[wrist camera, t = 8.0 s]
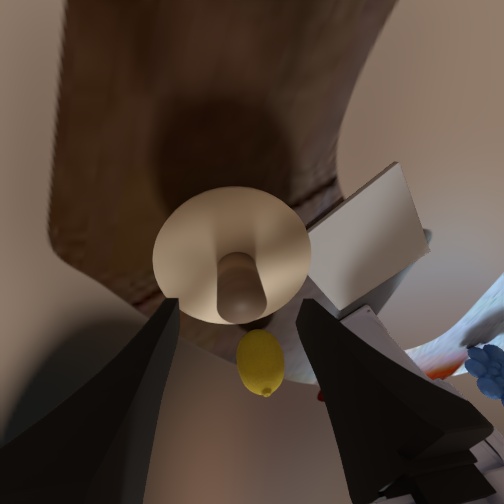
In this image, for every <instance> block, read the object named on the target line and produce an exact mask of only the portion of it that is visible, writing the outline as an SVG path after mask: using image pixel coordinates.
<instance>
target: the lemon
mask: <svg viewBox="0 0 504 504" xmlns="http://www.w3.org/2000/svg"><path fill="white" fill-rule="evenodd" d="M237 367H238V371H239V374H240V377H241V379H242V381H243V383H244V385H245V386H246V387H247V388H248V389H249V390H250V391H251V392H253V393H255V394H258V395H263V396H265V397H268V396H270V394H271V393H272V392H274V391H275V390H276V389H277V388H278V387H279V385H280V384H281V382H282V380H283V377H284V356H283V352H282V349H281V347H280V344H279V342H278V341H277V339H276V338H275V337H274V336H273V335H272V334H271V333H270V332H268V331H266V330H262V329H254V330H251V331H249V332H248V333H246V334H245V335H244V336H243V338H242V339H241V340H240V342H239V345H238V348H237Z"/></svg>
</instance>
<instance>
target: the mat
mask: <svg viewBox="0 0 504 504" xmlns="http://www.w3.org/2000/svg"><path fill="white" fill-rule="evenodd" d="M307 232H308V235H309V239H310V242H311V263H310V268H309V271H308V275H309V277H310V278H311V279H312V280H313V281H314V282H315V283H316V285H317V286H318V287H319V288H320V289H321V290H322V291H323V292H324V294H325V295H326V296H327V297H328V298H329V299H330V300H331V302H332V303H333V304H334V305H335V306H336V307H337V308H338V310H339V311H340V310H342V309H343V308H345V307H346V306H348V305H349V304H351V303H352V302H354V301H355V300H357V299H358V298H360V297H361V296H363V295H365V294H366V293H368V292H369V291H371V290H372V289H374V288H375V287H377V286H378V285H380V284H381V283H383V282H384V281H386V280H387V279H389V278H391V277H392V276H394V275H395V274H397V273H398V272H400V271H401V270H403V269H404V268H406V267H407V266H409V265H410V264H412V263H413V262H415V261H417V260H418V259H420V258H421V257H422V256H424V255H426V254H427V253H429V252H430V249H429V246H428V243H427V240H426V237H425V234H424V232H423V229H422V226H421V223H420V220H419V217H418V215H417V212H416V209H415V206H414V203H413V200H412V197H411V194H410V191H409V189H408V186H407V183H406V180H405V177H404V174H403V171H402V169H401V166H400V163H399V162H393V163H392V164H390V165H389V166H388V167H387V168H385V169H384V170H383V171H382V172H380V173H379V174H378V175H377V176H375V177H374V178H373V179H371V180H370V181H369V182H368V183H366V184H365V185H364V186H363V187H361V188H360V189H359V190H357V191H356V192H355V193H354V194H352V195H351V196H350V197H349V198H347V199H346V200H345V201H343V202H342V203H341V204H340V205H338V206H337V207H336V208H335V209H333V210H332V211H331V212H329V213H328V214H327V215H326V216H324V217H323V218H322V219H321V220H319V221H318V222H317V223H316V224H314V225H313V226H312V227H310V228H309V229H308V230H307Z"/></svg>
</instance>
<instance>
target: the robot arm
mask: <svg viewBox="0 0 504 504" xmlns="http://www.w3.org/2000/svg"><path fill="white" fill-rule="evenodd" d="M296 327H297V330H298V334H299V337H300V340H301V343H302V345H303V347H304V350H305V352H306V354H307V357H308V359H309V361H310V364H311V366H312V368H313V371H314V373H315V375H316V378H317V380H318V383H319V386H320V389H321V392H322V395H323V398H324V401H325V404H326V407H327V410H328V414H329V417H330V420H331V423H332V427H333V431H334V434H335V438H336V442H337V445H338V449H339V452H340V457H341V460H342V465H343V469H344V473H345V477H346V481H347V485H348V490H349V495H350V498H351V500H352V503H353V504H504V437H503V436H502V435H501V434H500V432H499V431H498V430H496V428H495V427H494V426H493V425H492V424H491V423H490V422H489V421H488V420H487V419H486V418H485V417H484V416H483V415H482V414H481V413H480V412H479V411H478V410H477V409H476V408H475V407H474V406H473V405H472V404H471V403H470V402H469V401H468V400H467V399H466V398H465V397H464V396H463V395H462V394H461V393H460V392H459V391H458V390H457V389H456V388H455V387H454V386H453V385H452V384H451V383H449V382H447V381H444V380H441V379H439V378H438V379H435V380H434V381H432V380H431V379H430V378H429V377H427V376H426V375H425V373H424V372H423V371H422V370H421V369H420V368H419V367H418V366H417V365H416V364H415V362H414V361H413V360H412V359H411V358H410V357H409V356H408V355H407V354H406V353H405V351H404V350H403V349H402V348H401V347H400V346H399V345H398V344H397V343H396V342H395V341H394V339H393V338H392V337H391V336H390V335H389V333H388V331H387V330H386V328H385V327H384V326H383V324H382V323H381V321H380V320H379V319H378V317H377V316H376V315H375V313H374V312H373V310H372V309H371V308H370V306H369V305H364V306H363V307H361V308H360V309H358V310H357V311H355V312H353V313H352V314H350V315H349V316H347V317H346V318H344V319H343V320H341V321H338V320H337V319H336V318H335V317H334V316H333V315H331V314H330V313H329V312H328V311H327V310H326V309H325V308H323V307H322V306H321V305H320V304H319V303H318V302H316V301H315V300H314V299H303V302H302V305H301V308H300V311H299V314H298V317H297V320H296ZM179 328H180V313H179V298H166V299H165V300H164V301H163V302H162V304H161V305H160V306H159V308H158V309H157V310H156V312H155V313H154V314H153V315H152V317H151V318H150V319H149V320H148V322H147V323H146V324H145V325H144V326H143V327H142V329H141V330H140V331H139V332H138V333H137V334H136V336H134V337H133V338H132V340H131V341H130V342H129V343H128V344H127V345H126V346H125V347H124V348H123V349H122V350H121V351H120V352H119V353H118V354H117V355H116V356H115V357H114V358H113V359H112V360H111V361H110V362H109V363H108V364H107V365H105V366H104V367H103V368H102V369H101V370H100V371H99V372H98V373H97V374H95V375H94V376H93V377H92V378H91V379H90V380H89V381H88V382H86V383H85V384H84V385H83V386H82V387H81V388H79V389H78V390H77V391H76V392H74V393H73V394H72V395H71V396H69V397H68V398H67V399H66V400H64V401H63V402H62V403H60V404H59V405H58V406H57V407H55V408H54V409H53V410H52V411H50V412H49V413H48V414H46V415H45V416H44V417H43V418H41V419H40V420H39V421H37V422H36V423H35V424H33V425H32V426H31V427H29V428H28V429H27V430H25V431H24V432H22V433H21V434H20V435H18V436H17V437H15V438H14V439H13V440H11V441H10V442H8V443H7V444H6V445H4V446H3V447H2V448H0V504H142V503H143V497H144V491H145V485H146V480H147V473H148V468H149V463H150V457H151V451H152V446H153V441H154V435H155V430H156V425H157V420H158V414H159V409H160V404H161V400H162V395H163V391H164V387H165V384H166V381H167V377H168V374H169V370H170V367H171V363H172V359H173V356H174V352H175V349H176V345H177V340H178V334H179Z"/></svg>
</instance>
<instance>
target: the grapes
mask: <svg viewBox="0 0 504 504" xmlns="http://www.w3.org/2000/svg"><path fill="white" fill-rule="evenodd" d="M467 352H468V355H469V357H470V358H471V359H468V360H466V361H465V368H466V369H467V371H468V372H469V373H470V374H471V375H473V376H474V377H477V378H478V380H477V386H478V388H479V389H480V391H481V392H482V393H483V394H484V395H486V396H487V397H489V398H492V399H500V398H501V401H502V404H503V406H504V351H503V350H502V349H501V348H499V347H498V346H495V345H490V344H488V345H484V347H483V349H481V348H478V347H471V348H469V349H468V351H467Z"/></svg>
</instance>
